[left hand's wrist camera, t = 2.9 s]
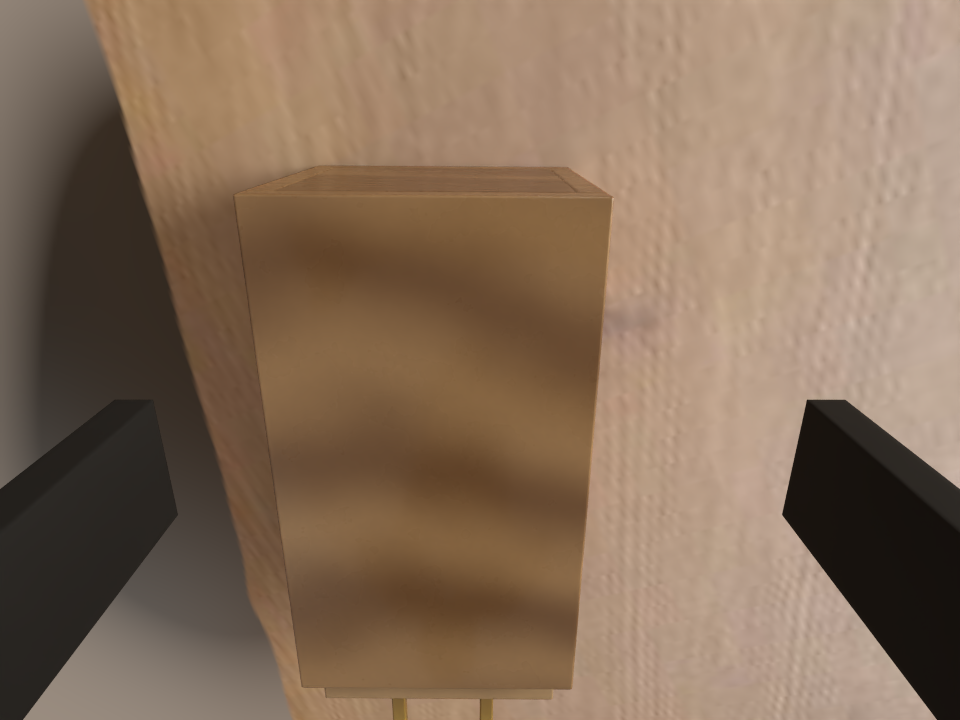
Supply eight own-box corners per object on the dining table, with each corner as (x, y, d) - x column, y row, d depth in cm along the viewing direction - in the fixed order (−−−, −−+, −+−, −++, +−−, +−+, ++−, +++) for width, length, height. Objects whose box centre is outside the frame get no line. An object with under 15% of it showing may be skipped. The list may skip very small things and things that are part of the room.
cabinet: (547, 532, 34) (572, 690, 25) (350, 531, 34) (301, 688, 25) (568, 167, 27) (614, 196, 17) (318, 165, 27) (231, 193, 17)
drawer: (532, 653, 36) (546, 796, 28) (367, 652, 36) (337, 794, 28) (553, 237, 27) (581, 286, 19) (332, 236, 27) (275, 284, 19)
